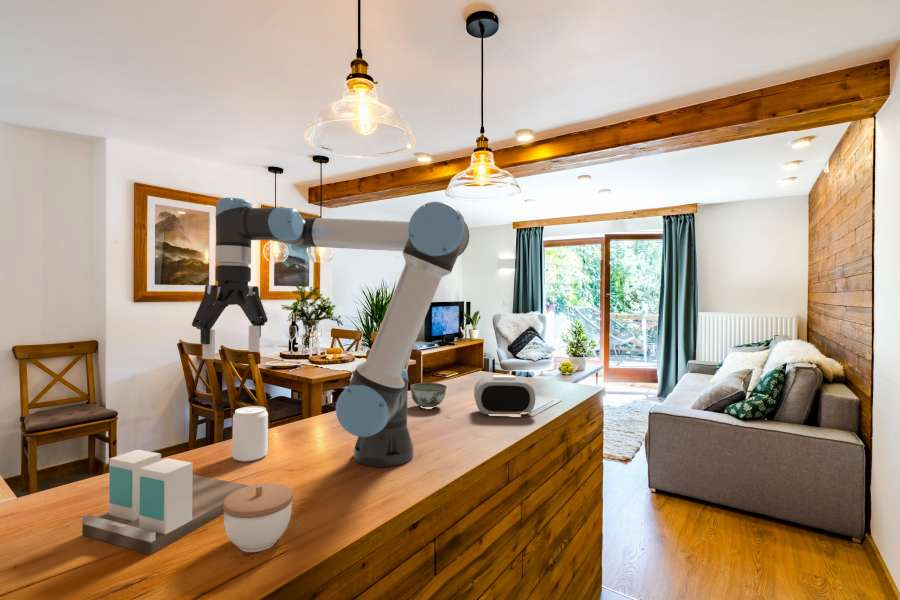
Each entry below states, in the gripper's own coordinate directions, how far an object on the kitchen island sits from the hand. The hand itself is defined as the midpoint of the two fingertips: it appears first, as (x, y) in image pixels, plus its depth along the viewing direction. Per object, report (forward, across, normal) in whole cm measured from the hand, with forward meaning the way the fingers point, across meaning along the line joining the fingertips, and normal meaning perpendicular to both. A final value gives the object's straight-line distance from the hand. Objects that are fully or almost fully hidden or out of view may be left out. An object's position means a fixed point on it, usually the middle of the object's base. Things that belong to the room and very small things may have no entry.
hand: (232, 355), depth 106 cm
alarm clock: (+27, -72, +50) cm, 92 cm away
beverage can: (+27, -7, -1) cm, 28 cm away
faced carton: (+25, +27, +13) cm, 39 cm away
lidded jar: (+27, +23, +29) cm, 46 cm away
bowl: (+27, -70, +22) cm, 78 cm away
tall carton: (+25, +26, +4) cm, 36 cm away
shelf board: (+27, +21, +8) cm, 35 cm away
